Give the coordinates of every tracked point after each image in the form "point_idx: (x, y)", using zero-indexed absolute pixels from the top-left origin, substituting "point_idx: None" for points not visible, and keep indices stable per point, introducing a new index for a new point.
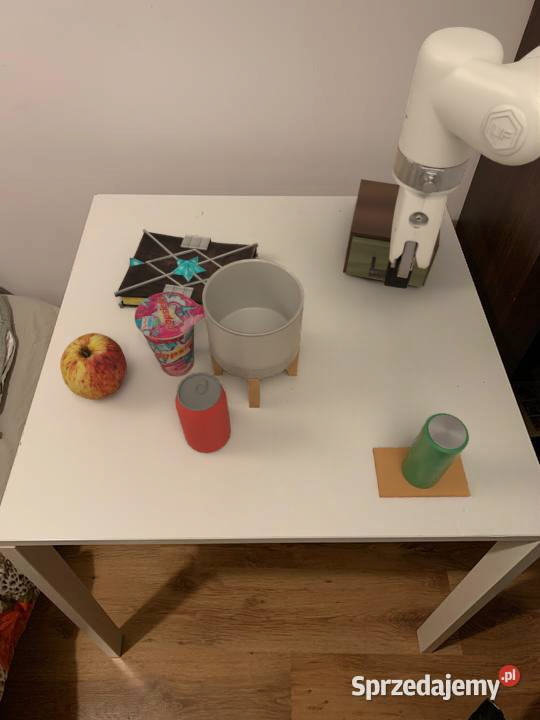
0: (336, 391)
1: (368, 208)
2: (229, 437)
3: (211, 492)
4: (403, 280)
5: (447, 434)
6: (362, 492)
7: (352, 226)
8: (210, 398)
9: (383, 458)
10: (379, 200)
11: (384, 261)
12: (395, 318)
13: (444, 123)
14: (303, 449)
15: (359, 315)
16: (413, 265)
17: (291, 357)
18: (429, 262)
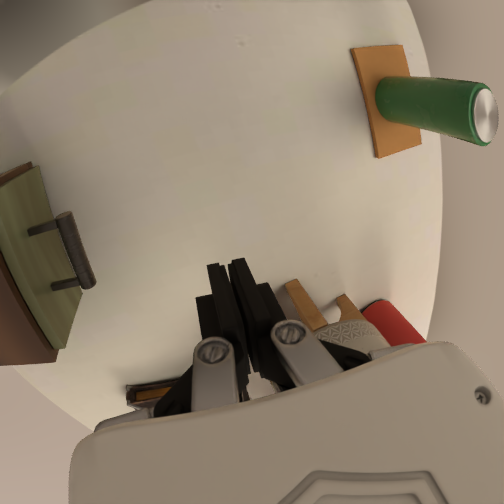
0: (307, 224)
1: None
2: (380, 301)
3: (415, 285)
4: (275, 297)
5: (489, 115)
6: (415, 161)
7: (43, 361)
8: None
9: (388, 144)
10: None
11: (45, 265)
12: (124, 180)
13: None
14: (383, 233)
15: (147, 240)
16: (258, 321)
17: (365, 328)
18: (469, 360)
